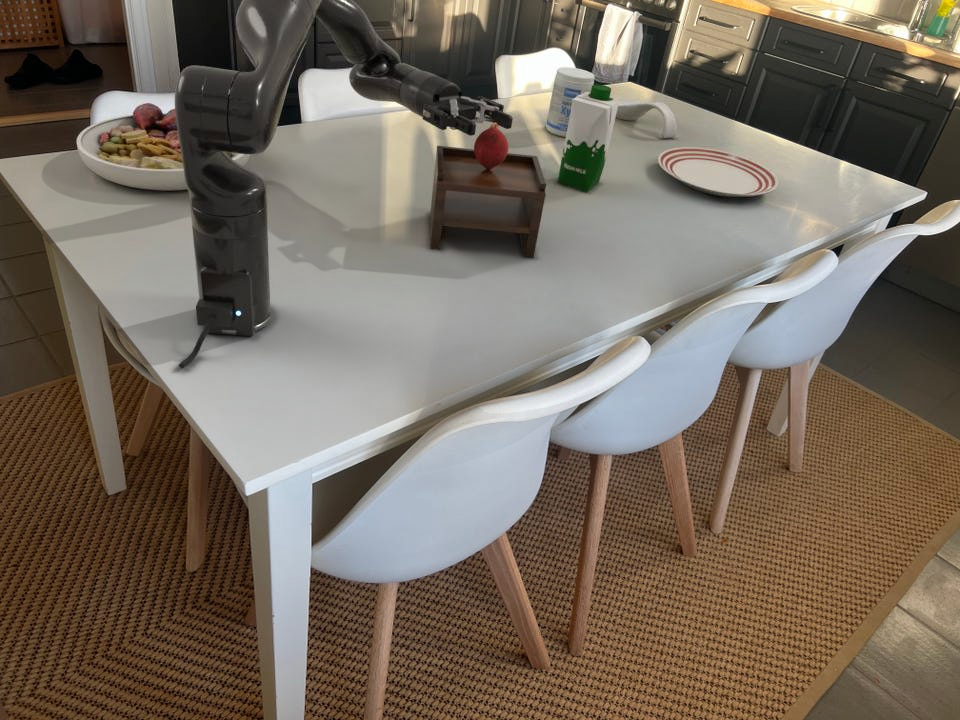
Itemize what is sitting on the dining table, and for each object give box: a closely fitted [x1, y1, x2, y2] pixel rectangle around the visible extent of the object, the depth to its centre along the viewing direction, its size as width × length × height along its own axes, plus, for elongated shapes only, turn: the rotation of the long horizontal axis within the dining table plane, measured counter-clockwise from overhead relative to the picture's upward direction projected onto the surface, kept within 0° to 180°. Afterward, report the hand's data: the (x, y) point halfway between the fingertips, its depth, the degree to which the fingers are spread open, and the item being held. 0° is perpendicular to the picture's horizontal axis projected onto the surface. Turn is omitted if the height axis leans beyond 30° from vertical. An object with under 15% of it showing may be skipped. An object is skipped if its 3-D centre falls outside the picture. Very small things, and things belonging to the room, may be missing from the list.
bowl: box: [76, 102, 251, 191], centre depth 141 cm, size 30×30×8 cm
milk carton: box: [557, 84, 619, 193], centre depth 157 cm, size 9×9×20 cm
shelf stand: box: [429, 145, 547, 259], centre depth 132 cm, size 14×18×13 cm
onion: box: [473, 122, 509, 170], centre depth 128 cm, size 6×6×8 cm
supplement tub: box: [545, 66, 595, 138], centre depth 187 cm, size 10×10×15 cm
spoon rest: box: [612, 97, 678, 139], centre depth 203 cm, size 24×12×7 cm, turn 34°
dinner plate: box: [657, 146, 779, 198], centre depth 174 cm, size 27×27×3 cm
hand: (492, 126), depth 126 cm, fingers open, 8 cm apart
